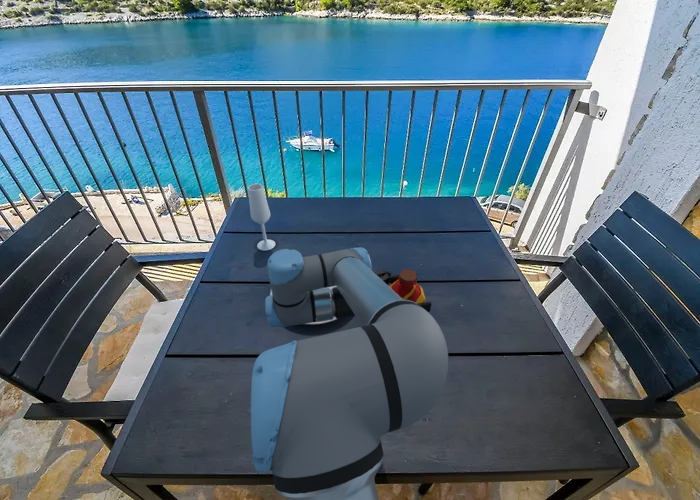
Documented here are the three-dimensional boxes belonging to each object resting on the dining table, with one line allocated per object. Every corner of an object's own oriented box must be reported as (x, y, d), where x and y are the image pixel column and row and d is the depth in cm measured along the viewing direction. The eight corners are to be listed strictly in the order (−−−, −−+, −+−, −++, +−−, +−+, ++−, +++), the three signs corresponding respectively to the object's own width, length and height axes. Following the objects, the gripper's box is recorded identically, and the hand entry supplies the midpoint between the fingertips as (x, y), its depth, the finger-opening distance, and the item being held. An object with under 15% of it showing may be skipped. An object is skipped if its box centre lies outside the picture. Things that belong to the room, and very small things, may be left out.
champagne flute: (278, 240, 131) (269, 183, 116) (271, 251, 126) (260, 193, 111) (261, 238, 132) (250, 181, 117) (253, 249, 127) (241, 190, 112)
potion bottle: (417, 338, 85) (426, 295, 76) (377, 325, 88) (380, 283, 79) (426, 307, 93) (434, 265, 83) (388, 297, 96) (393, 255, 86)
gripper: (327, 282, 93) (407, 272, 97) (340, 352, 77) (437, 337, 80) (326, 261, 89) (410, 251, 92) (339, 330, 72) (442, 315, 75)
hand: (422, 291), depth 86 cm, fingers closed on potion bottle, 9 cm apart
